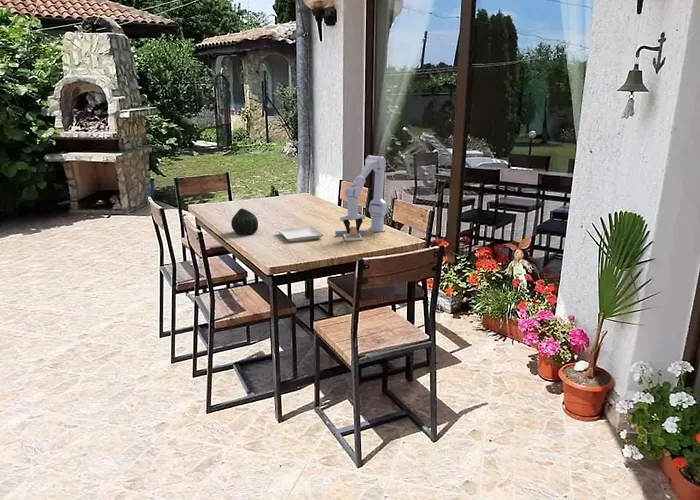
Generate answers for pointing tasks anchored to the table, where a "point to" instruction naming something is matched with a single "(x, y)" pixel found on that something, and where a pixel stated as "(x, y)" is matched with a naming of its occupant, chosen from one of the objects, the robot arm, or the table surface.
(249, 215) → the squash
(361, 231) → the low wall
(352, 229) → the ball
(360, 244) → the table surface
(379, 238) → the table surface
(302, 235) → the salad plate
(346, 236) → the white square tray
